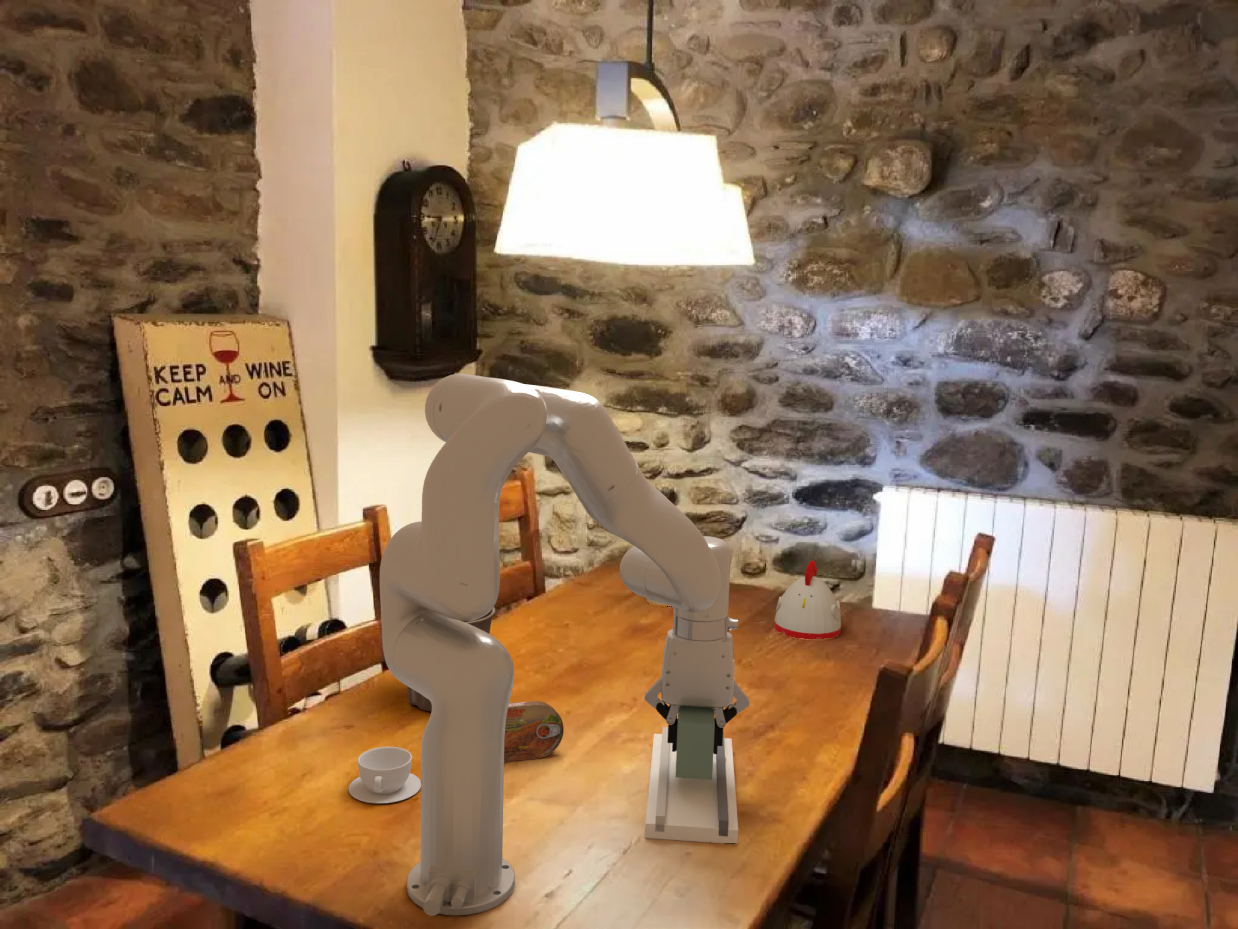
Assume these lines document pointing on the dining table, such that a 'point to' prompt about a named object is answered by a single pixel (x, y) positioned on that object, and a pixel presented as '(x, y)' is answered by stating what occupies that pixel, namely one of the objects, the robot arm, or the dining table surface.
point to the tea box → (695, 742)
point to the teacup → (384, 776)
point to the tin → (531, 731)
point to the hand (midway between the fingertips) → (694, 747)
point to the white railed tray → (691, 798)
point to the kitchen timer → (808, 609)
